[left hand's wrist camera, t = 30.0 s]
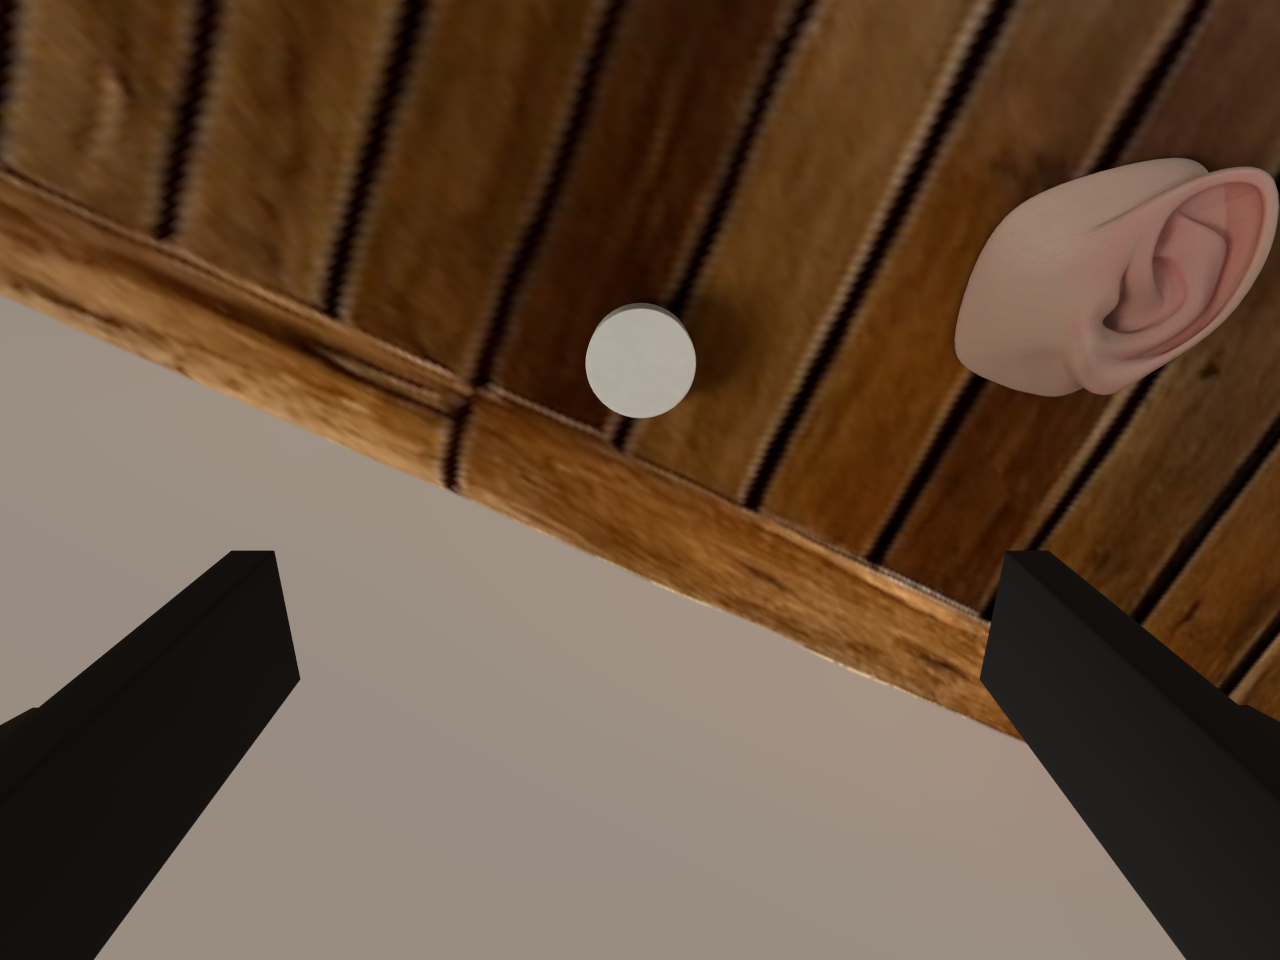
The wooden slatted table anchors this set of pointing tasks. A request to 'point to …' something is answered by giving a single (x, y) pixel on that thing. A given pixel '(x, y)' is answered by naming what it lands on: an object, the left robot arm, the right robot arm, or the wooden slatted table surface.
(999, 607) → the left robot arm
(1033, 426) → the wooden slatted table surface
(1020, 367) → the anatomical model
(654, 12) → the wooden slatted table surface
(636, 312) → the lid
